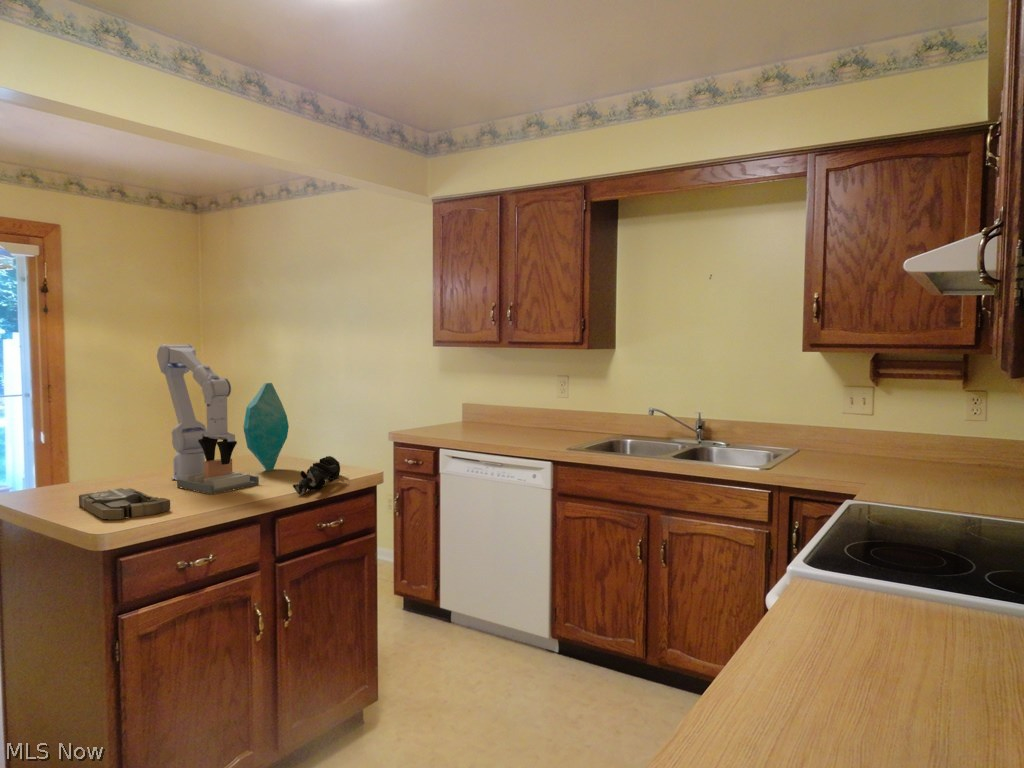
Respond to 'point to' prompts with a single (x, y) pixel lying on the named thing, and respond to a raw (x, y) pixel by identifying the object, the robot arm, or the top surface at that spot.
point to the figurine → (318, 475)
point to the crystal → (266, 426)
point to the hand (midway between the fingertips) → (217, 462)
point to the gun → (122, 503)
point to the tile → (216, 468)
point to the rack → (217, 482)
